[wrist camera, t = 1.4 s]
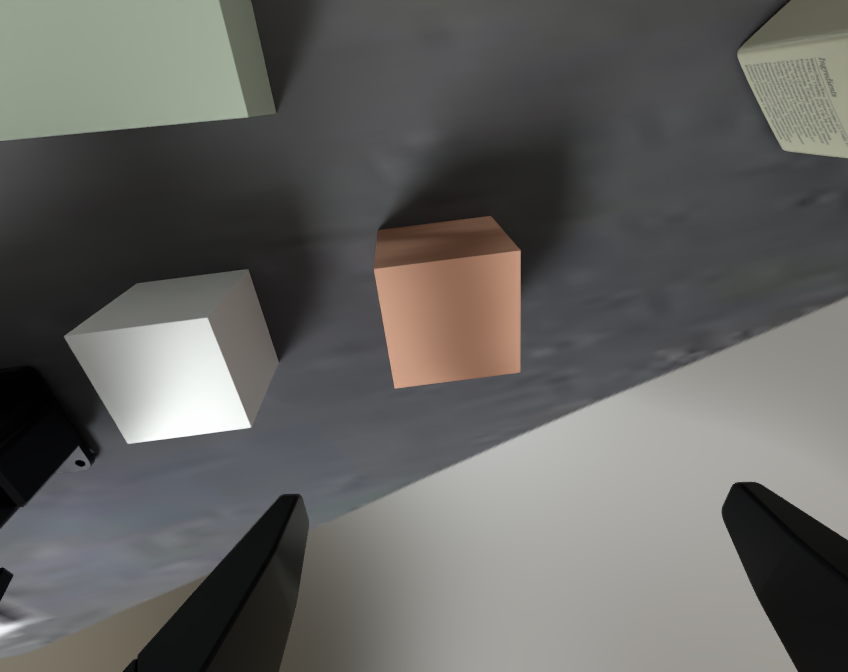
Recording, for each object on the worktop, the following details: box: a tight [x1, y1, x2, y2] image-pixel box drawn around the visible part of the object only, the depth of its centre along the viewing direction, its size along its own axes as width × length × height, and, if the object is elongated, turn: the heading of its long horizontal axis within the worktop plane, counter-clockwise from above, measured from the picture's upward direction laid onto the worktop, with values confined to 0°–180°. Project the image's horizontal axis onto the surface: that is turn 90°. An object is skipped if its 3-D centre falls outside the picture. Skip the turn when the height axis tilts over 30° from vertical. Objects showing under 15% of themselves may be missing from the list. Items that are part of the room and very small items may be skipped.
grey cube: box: [64, 269, 279, 444], centre depth 18 cm, size 5×5×5 cm
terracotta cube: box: [374, 216, 521, 388], centre depth 18 cm, size 5×5×5 cm
